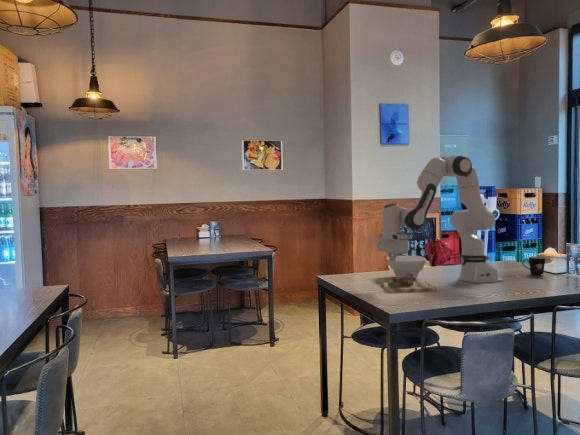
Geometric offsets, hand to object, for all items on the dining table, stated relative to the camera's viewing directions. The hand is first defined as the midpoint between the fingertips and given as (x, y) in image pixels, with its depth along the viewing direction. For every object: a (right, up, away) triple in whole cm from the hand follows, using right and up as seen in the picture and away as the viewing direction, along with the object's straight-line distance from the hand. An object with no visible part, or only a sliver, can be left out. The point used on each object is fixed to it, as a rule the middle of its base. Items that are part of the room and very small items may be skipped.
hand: (392, 261), depth 245 cm
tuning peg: (+5, -12, -3) cm, 14 cm away
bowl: (+14, -13, +27) cm, 33 cm away
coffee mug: (+89, -11, +28) cm, 94 cm away
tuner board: (+8, -14, -2) cm, 16 cm away
